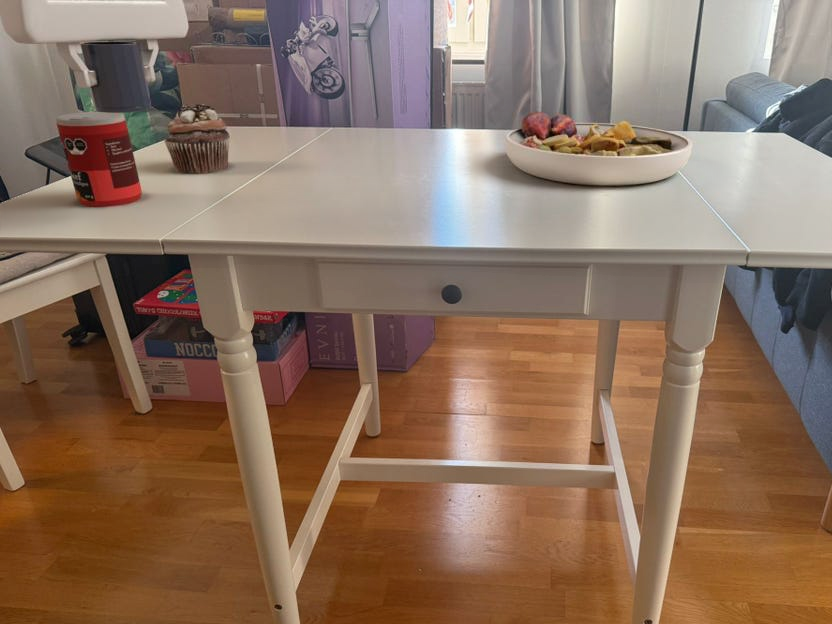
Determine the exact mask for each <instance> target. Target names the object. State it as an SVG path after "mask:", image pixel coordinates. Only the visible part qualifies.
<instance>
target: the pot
mask: <svg viewBox="0 0 832 624" xmlns="http://www.w3.org/2000/svg"><path fill="white" fill-rule="evenodd" d="M80 45H81V49H82V54H80V55H81V60H82V62H83V63H84V64H85V66H86V67H87V68H88V70H96V74H97V78H96V79H97V80H98V83H99V86H98V87H94V88H88V89H89V94H90V97H91V101H92V105H93V108H94V111H95V112H106V113H121V114H124V113H125V114H126V113H136V112H137V113H138V112H145V111H149V110H151V109H152V108H153V106H152V100H151V94H150V90H149V85H148V82H147V79H146V75H145V70H144V65H143V60H142V55H141V49H140V45H139V43H137V42H135V41H94V42H80Z"/></svg>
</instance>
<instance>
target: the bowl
mask: <svg viewBox="0 0 832 624" xmlns="http://www.w3.org/2000/svg"><path fill="white" fill-rule="evenodd" d="M504 148H505V152H506V155H507V157H508V158H509V160H510V161H511V163H512V164H513V165H514V166H515V167H517V168H518V169H520V170H521V171H522V172H524V173H527V174H529V175H532V176H534V177H537V178H540V179H544V180H548V181H554V182H559V183H565V184H573V185H584V186H603V187H604V186H605V187H606V186H609V187H611V186H612V187H613V186H614V187H615V186H617V187H618V186H634V185H643V184H648V183H654V182H659V181H661V180H665V179H667V178H670V177H672V176H674V175H675V174H677V173H678V172H680V171H681V170H682V169H683V168H684V167H685V166H686V164H687V163H688V161H689V159H690V157H691V155H692V152H693V151H692V150H693V140H691V139H690V138H688V137H686V136H684V135H682V134H679V133H676V132H672V131H668V130H664V129H659V128H653V127H647V126H641V125H639V126H638V125H632V124H630V123H629V122H628V121H626V120H621V121H619V122H618V123H606V122H605V123H604V122H603V123H602V122H575V121H574V120H573V119H572V118H571V117H570V116H569V115H567V114H563V113H561V114H559V113H558V114H555V115H554V116H552V118H550V116H549V115H548V114H547V113H545V112H543V111H539V110H538V111H537V110H535V111H534V112H530V113H529V114H527V115H526V116H525V117H524V118H523V119H522V121H521V127H518V128H515V129H512V130H510V131H508V132H507V133H506V134H505V136H504Z"/></svg>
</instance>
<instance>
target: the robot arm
mask: <svg viewBox="0 0 832 624" xmlns="http://www.w3.org/2000/svg"><path fill="white" fill-rule="evenodd" d="M0 21H1V24H2V27H3V29H4V31H5V33H6V34H7V35H8V36H9V37H10V38H11V39H12V40H13V41H14V42H15V43H17V44H23V45H24V44H25V45H43V44H44V45H45V44H47V45H48V44H55V46H56V50H57V53H58V55H59V56H60V58H61V59H62V60H63V62H65V64H66V65H67V66H68V67H69V69H70V70H71V71H73V74H74V75H73V76H74V78H75V79H74V80H75V83H76V85H77V87H78V88H79V89H89V88H94V87H98V86H99V83H98V80H97V79H96V78H97V74H96V70H88V68H87V67H86V66H85V64H84V63H83V60H82V58H81V57H80V56H79V55H81V54H82V49H81V45H80V43H84V42H118V41H134V42H137V43H139V45H140V50H141V55H142V60H143V65H144V70H145V75H146V79H147V83H154V82H156V74H155V69H154V66H155V64H156V60H157V57H158V53H159V51H160V49H159V43H158V40H160V39H161V40H162V39H184V38H185V37H186V36H187V34H188V32H189V26H190V25H189V21H188V16H187V11H186V7H185V4H184V0H0Z"/></svg>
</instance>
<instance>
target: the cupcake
mask: <svg viewBox="0 0 832 624" xmlns="http://www.w3.org/2000/svg"><path fill="white" fill-rule="evenodd" d="M227 128H228V125H227V123H226V122H225V120H224V119H222V118H221V117H220V116H218V113H217V112H216V110H215V108H214V106H212V105H207V104H206V103H205V102H203V103H197V104H195V106H191V105H188V104H186V103H182V107H181V108H179V110H178V111H177V113H176V115H175V117H174V118H173V120H171V121H170V122H168V123H167V133H169V134H168V135H167V137H166V138H164V139H163V142H164V144H165V147H166V149H167V152H168V153H169V156H170V159H171V162H172V164H173V165H174V169H175V171H176V172H178V173H180V174H185V175H202V174H203V175H205V174H206V175H207V174H211V173H218V172H222V171H225V170H226V169H228V167H229V150H230V149H229V147H230V138H231V137H230V134H229V132H228V131H227Z"/></svg>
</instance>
